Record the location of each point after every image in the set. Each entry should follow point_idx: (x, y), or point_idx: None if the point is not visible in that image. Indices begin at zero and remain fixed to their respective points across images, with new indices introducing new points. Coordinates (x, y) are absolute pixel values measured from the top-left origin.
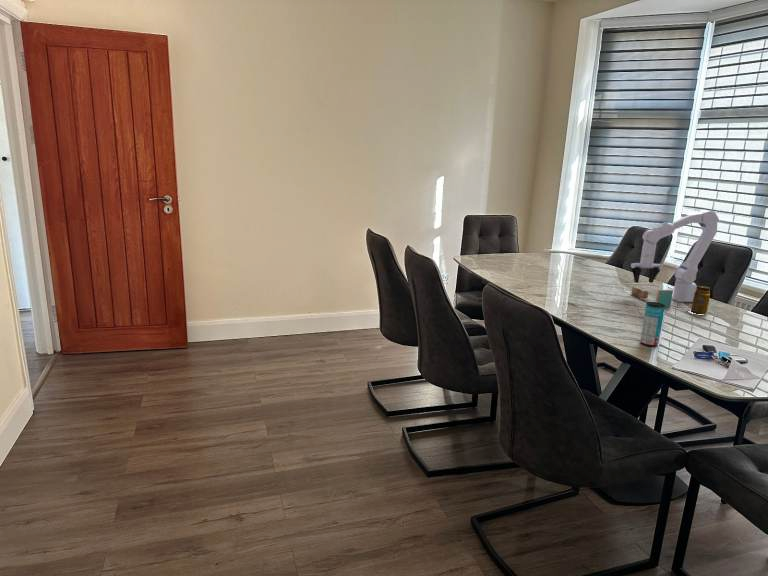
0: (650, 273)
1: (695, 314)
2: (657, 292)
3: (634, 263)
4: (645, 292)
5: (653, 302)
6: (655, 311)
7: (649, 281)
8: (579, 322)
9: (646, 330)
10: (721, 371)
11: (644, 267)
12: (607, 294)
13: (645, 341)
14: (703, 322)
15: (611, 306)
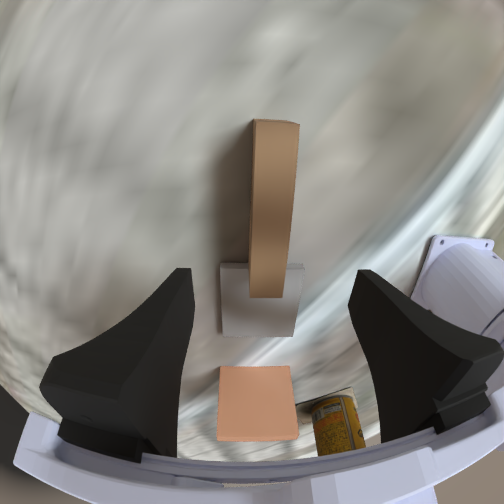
0: (403, 342)
1: (300, 418)
2: (217, 425)
3: (59, 487)
4: (257, 293)
5: None
6: None
7: (358, 285)
8: (14, 393)
9: None
10: None
11: (266, 472)
12: (63, 147)
13: None
14: (261, 443)
15: (50, 345)
